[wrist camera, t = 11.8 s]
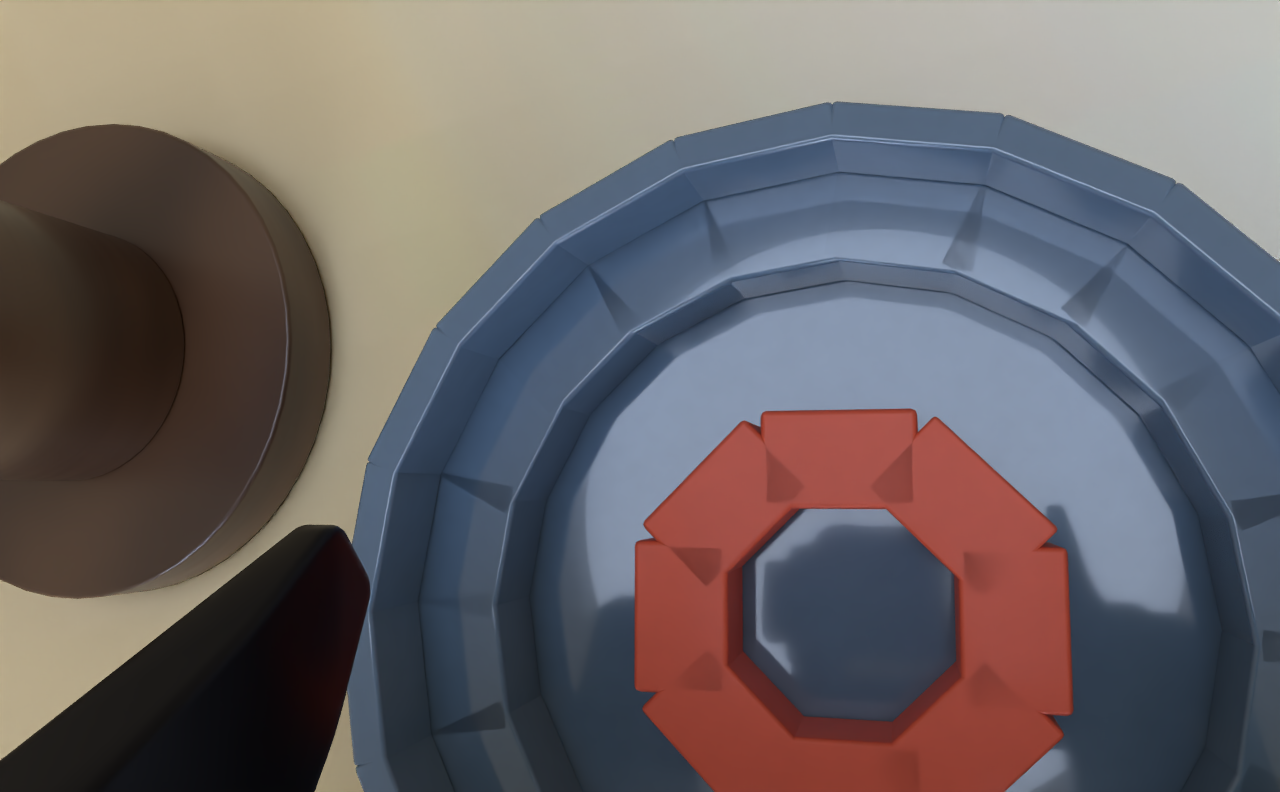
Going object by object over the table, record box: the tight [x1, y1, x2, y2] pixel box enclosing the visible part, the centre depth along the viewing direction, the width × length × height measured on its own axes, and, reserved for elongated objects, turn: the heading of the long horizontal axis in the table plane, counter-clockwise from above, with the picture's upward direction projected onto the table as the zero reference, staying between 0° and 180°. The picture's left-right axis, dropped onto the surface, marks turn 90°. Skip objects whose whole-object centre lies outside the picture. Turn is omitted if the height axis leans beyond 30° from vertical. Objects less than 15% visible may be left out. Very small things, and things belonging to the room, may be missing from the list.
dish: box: [347, 102, 1280, 792], centre depth 16 cm, size 16×16×4 cm
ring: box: [634, 409, 1074, 792], centre depth 17 cm, size 7×7×2 cm
